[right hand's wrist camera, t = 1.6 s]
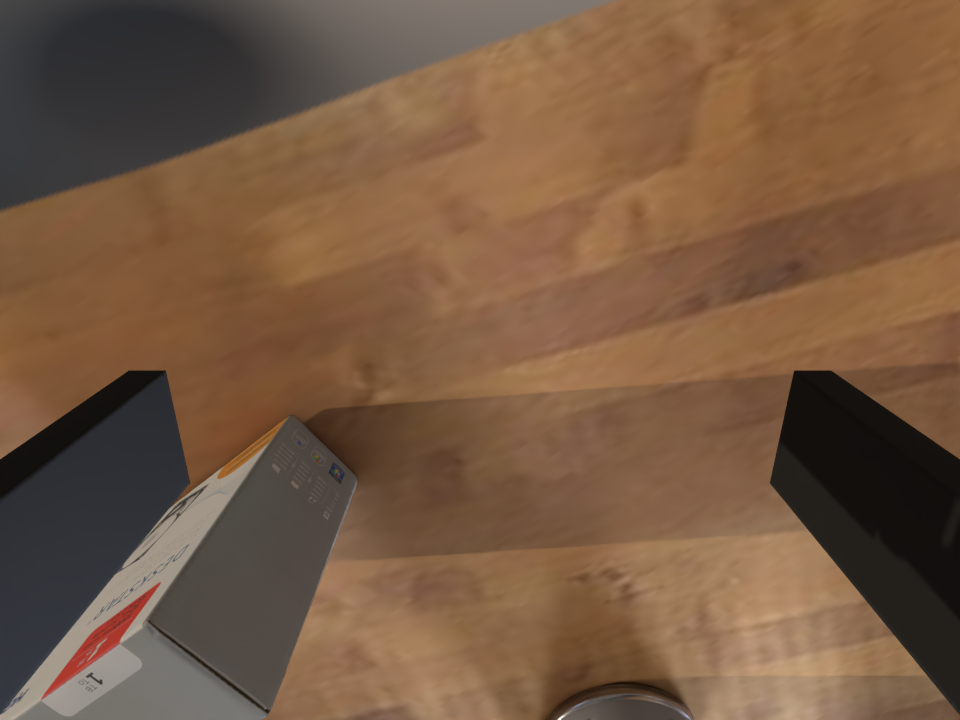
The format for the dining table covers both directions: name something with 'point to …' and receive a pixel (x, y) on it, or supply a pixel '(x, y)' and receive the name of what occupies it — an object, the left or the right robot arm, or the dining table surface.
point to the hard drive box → (205, 596)
